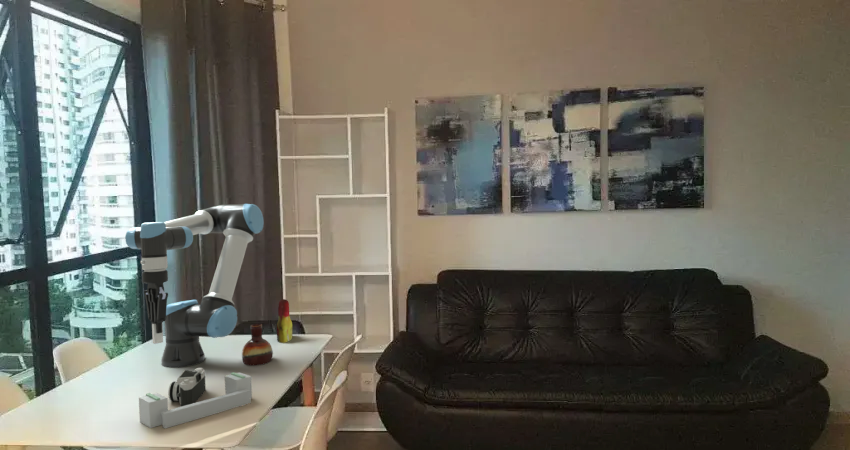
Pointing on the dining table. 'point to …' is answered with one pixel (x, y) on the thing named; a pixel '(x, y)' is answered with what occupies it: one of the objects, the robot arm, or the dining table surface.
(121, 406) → the dining table surface
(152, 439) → the dining table surface
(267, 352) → the vase
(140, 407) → the rail mount
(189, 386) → the camera
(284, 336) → the bottle
